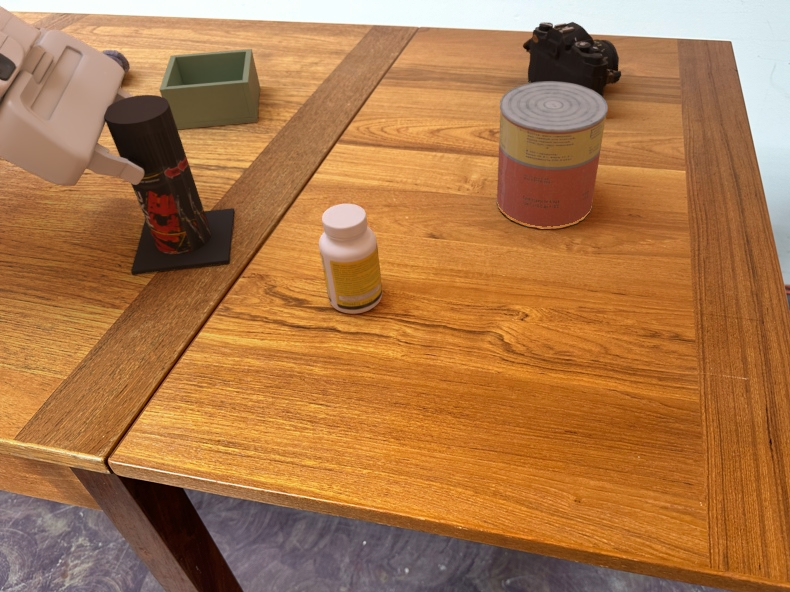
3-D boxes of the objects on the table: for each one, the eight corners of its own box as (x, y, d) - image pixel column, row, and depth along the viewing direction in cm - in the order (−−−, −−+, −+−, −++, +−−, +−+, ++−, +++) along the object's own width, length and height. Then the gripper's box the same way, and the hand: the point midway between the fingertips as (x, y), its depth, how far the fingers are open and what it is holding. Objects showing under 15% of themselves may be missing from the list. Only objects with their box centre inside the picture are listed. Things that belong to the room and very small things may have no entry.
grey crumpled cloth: (112, 105, 101) (125, 79, 108) (125, 75, 98) (137, 51, 106) (75, 86, 98) (90, 61, 105) (87, 55, 96) (102, 31, 103)
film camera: (648, 97, 97) (663, 26, 90) (600, 127, 91) (611, 53, 84) (551, 64, 106) (557, -3, 99) (501, 89, 100) (503, 20, 93)
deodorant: (222, 230, 74) (182, 101, 64) (185, 260, 70) (136, 128, 60) (181, 217, 76) (136, 90, 66) (144, 246, 72) (89, 116, 62)
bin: (172, 130, 92) (159, 89, 88) (182, 94, 100) (170, 55, 96) (257, 122, 94) (247, 81, 89) (260, 87, 102) (251, 48, 98)
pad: (132, 275, 70) (130, 271, 69) (146, 220, 77) (145, 217, 76) (229, 263, 71) (228, 260, 70) (234, 211, 78) (233, 207, 77)
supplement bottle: (394, 297, 66) (386, 215, 60) (351, 323, 64) (337, 241, 57) (360, 273, 69) (348, 192, 62) (318, 297, 67) (301, 215, 60)
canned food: (608, 193, 79) (625, 96, 71) (564, 241, 73) (577, 140, 64) (525, 167, 84) (532, 73, 75) (477, 209, 77) (479, 111, 69)
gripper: (15, 45, 67) (148, 125, 75) (-57, 144, 53) (117, 230, 61) (42, -6, 64) (176, 83, 72) (-26, 84, 50) (151, 182, 58)
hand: (149, 151), depth 67 cm, fingers open, 8 cm apart
